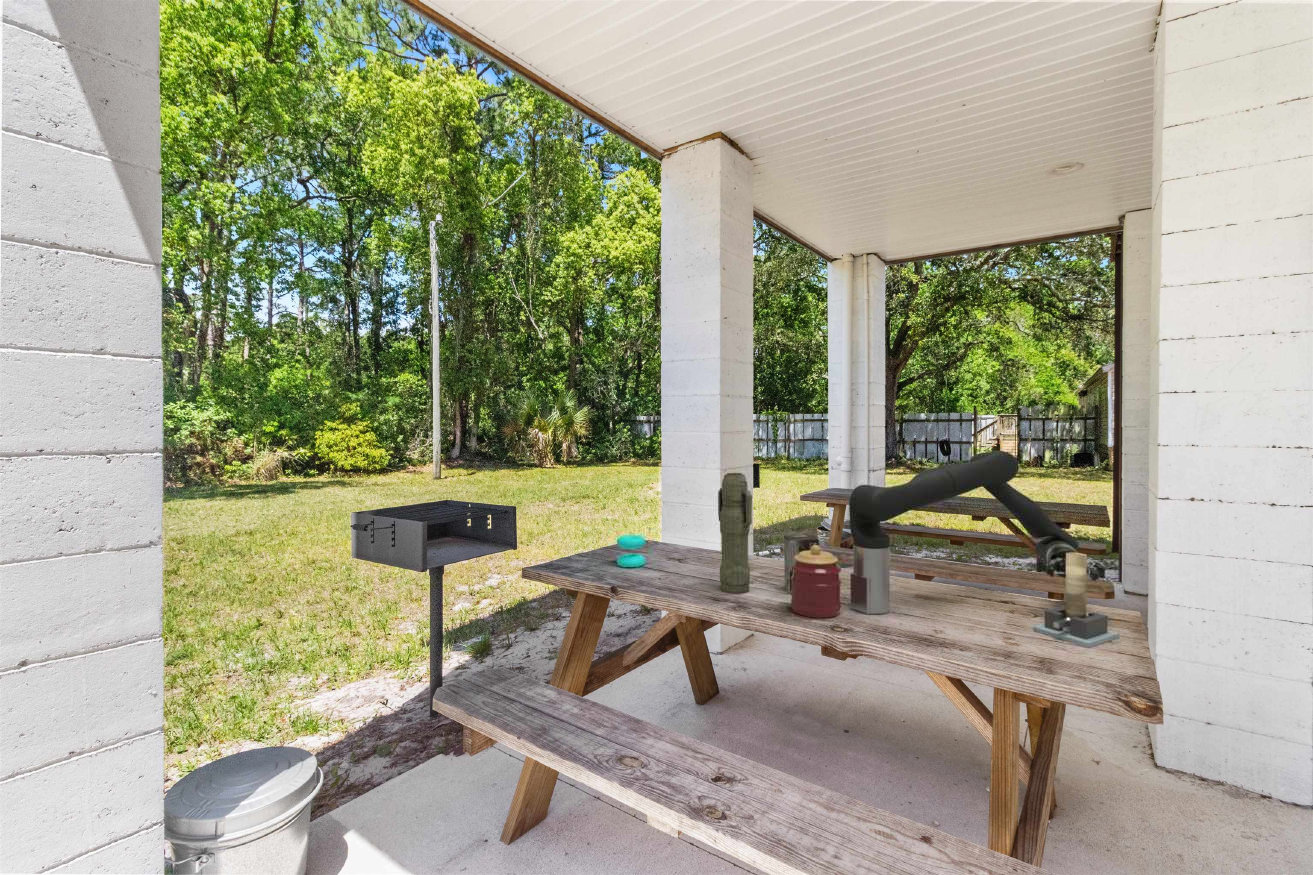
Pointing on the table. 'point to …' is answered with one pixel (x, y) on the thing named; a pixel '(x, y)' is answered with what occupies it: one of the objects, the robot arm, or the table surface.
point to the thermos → (734, 533)
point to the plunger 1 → (1062, 622)
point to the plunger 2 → (1089, 612)
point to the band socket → (1078, 628)
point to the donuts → (631, 558)
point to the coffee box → (795, 553)
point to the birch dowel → (1075, 586)
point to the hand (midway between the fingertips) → (1073, 574)
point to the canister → (816, 584)
